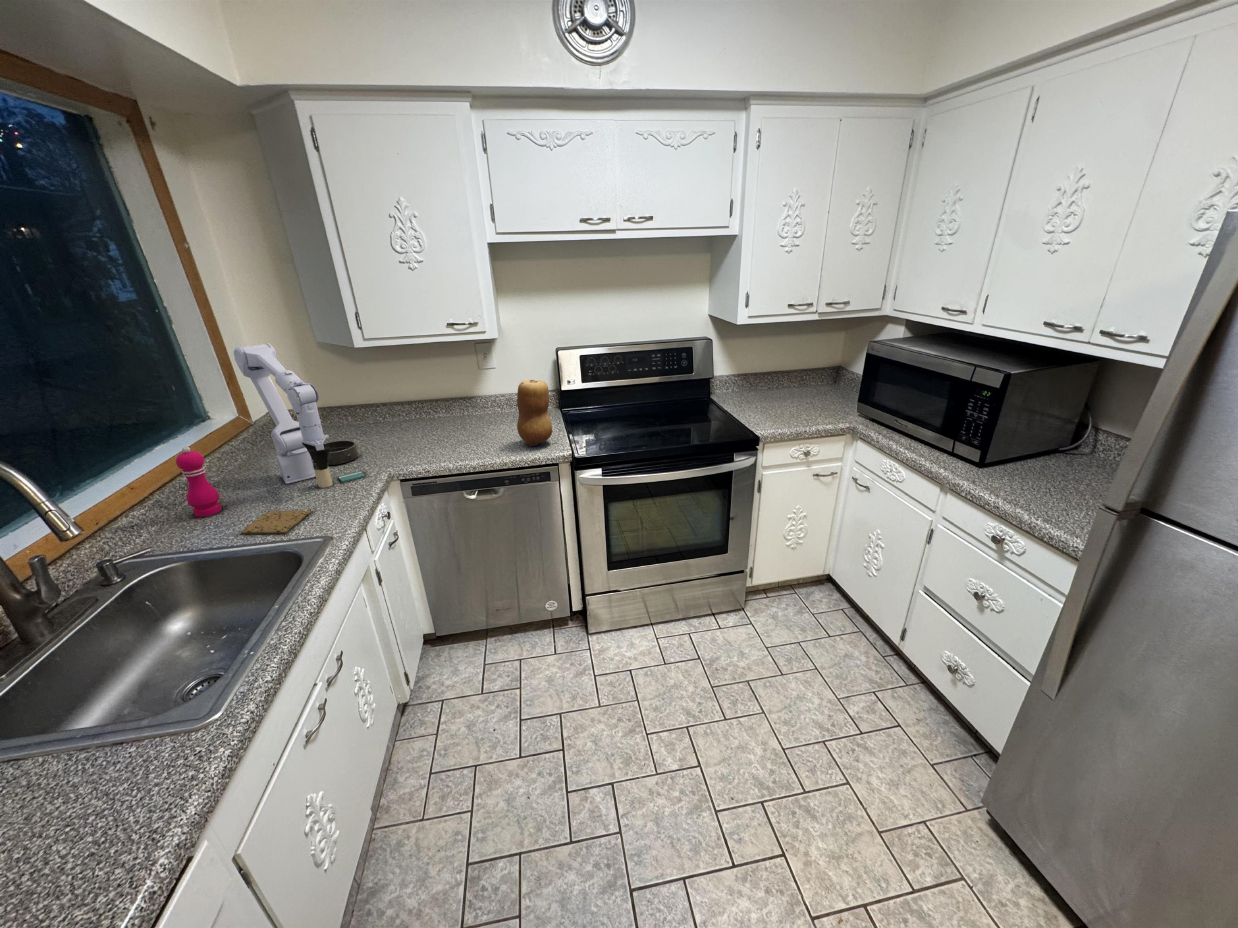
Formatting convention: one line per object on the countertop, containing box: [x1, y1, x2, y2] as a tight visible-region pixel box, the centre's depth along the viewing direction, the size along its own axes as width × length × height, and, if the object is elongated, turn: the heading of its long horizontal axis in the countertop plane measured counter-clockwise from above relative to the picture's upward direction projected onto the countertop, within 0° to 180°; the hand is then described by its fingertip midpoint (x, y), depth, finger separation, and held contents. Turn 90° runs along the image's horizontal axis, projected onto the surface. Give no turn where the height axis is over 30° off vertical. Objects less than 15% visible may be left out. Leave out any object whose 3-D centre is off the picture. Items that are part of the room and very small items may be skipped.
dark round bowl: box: [323, 439, 359, 466], centre depth 181 cm, size 13×13×5 cm
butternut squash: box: [516, 378, 553, 447], centre depth 191 cm, size 14×13×25 cm
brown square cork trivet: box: [241, 510, 312, 535], centre depth 138 cm, size 12×12×1 cm
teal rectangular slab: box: [337, 470, 366, 483], centre depth 167 cm, size 7×5×1 cm
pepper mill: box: [175, 446, 223, 518], centre depth 141 cm, size 7×7×20 cm
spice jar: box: [313, 463, 333, 489], centre depth 160 cm, size 4×4×7 cm
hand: (320, 465), depth 159 cm, fingers open, 7 cm apart
